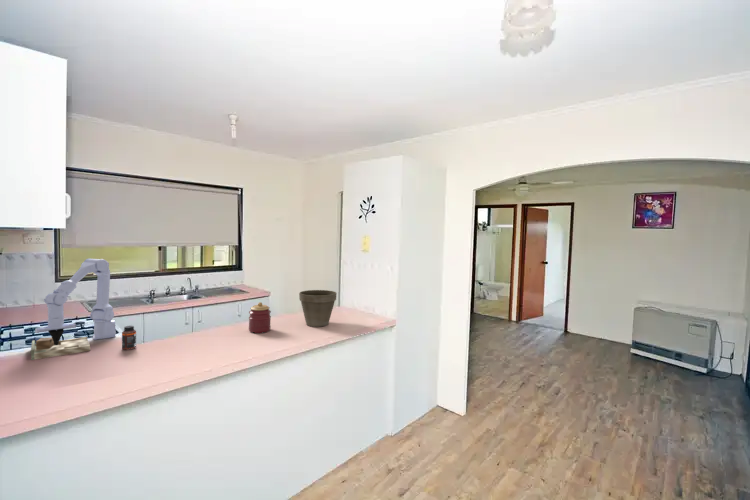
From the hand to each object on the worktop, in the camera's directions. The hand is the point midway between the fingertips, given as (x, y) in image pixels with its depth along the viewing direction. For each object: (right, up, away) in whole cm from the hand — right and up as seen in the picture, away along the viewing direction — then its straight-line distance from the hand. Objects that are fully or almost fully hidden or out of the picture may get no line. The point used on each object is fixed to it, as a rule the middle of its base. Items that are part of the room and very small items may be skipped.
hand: (56, 344), depth 174 cm
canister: (+85, -4, +46) cm, 96 cm away
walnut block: (-4, -1, -1) cm, 5 cm away
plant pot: (+117, -4, +66) cm, 134 cm away
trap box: (+2, -3, +2) cm, 4 cm away
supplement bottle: (+31, -4, +7) cm, 32 cm away
